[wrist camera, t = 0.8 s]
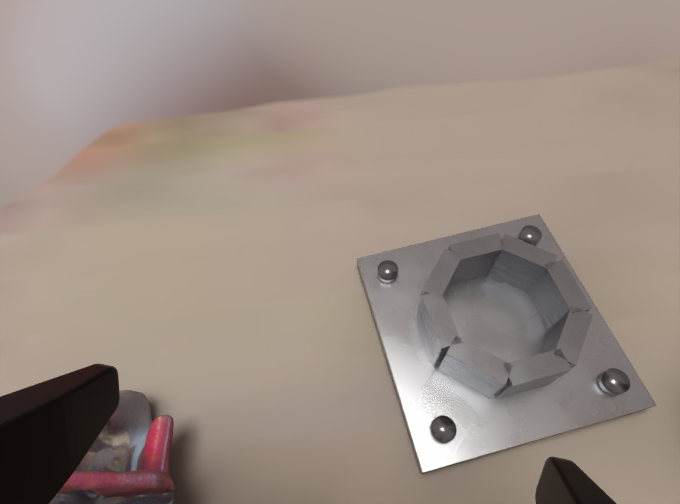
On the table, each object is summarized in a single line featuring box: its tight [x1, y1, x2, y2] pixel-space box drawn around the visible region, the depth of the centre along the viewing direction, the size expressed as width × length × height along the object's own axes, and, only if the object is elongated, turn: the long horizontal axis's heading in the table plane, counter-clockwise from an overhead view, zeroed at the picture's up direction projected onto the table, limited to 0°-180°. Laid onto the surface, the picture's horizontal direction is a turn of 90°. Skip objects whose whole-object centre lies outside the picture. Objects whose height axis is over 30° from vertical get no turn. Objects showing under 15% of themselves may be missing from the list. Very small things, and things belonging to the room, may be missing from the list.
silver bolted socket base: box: [357, 214, 657, 473], centre depth 22 cm, size 12×12×4 cm
